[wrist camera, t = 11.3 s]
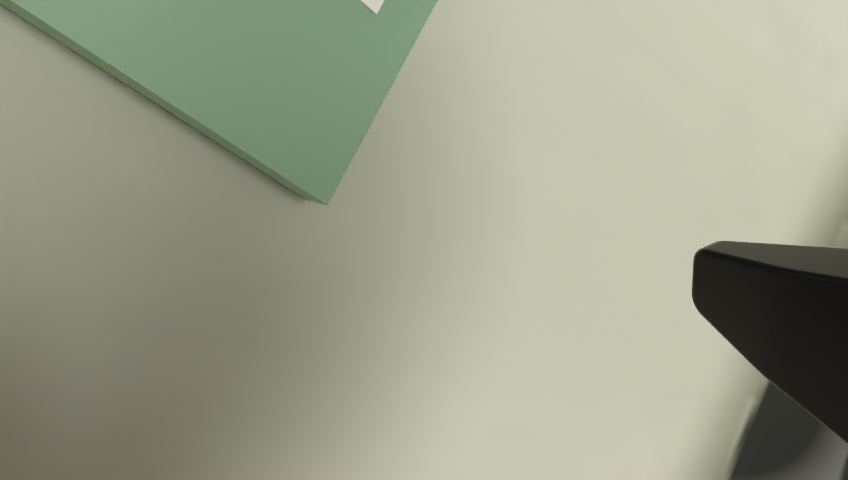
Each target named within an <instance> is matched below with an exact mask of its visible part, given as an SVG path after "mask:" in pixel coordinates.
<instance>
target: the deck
mask: <svg viewBox="0 0 848 480" xmlns="http://www.w3.org/2000/svg"><path fill="white" fill-rule="evenodd" d="M436 2H437V0H0V4H1V5H2V6H4V7H5V8H7V9H8V10H10V11H12V12H13V13H15V14H16V15H18V16H19V17H21V18H23V19H24V20H26V21H27V22H29V23H30V24H32V25H33V26H35V27H37V28H38V29H40V30H41V31H43V32H44V33H46V34H48V35H49V36H51V37H52V38H54V39H55V40H57V41H59V42H60V43H62V44H63V45H65V46H66V47H68V48H69V49H71V50H73V51H74V52H76V53H77V54H79V55H80V56H82V57H84V58H85V59H87V60H88V61H90V62H91V63H93V64H95V65H96V66H98V67H99V68H101V69H102V70H104V71H106V72H107V73H109V74H110V75H112V76H113V77H115V78H116V79H118V80H120V81H121V82H123V83H124V84H126V85H127V86H129V87H131V88H132V89H134V90H135V91H137V92H138V93H140V94H142V95H143V96H145V97H146V98H148V99H149V100H151V101H152V102H154V103H156V104H157V105H159V106H160V107H162V108H163V109H165V110H167V111H168V112H170V113H171V114H173V115H174V116H176V117H178V118H179V119H181V120H182V121H184V122H185V123H187V124H188V125H190V126H192V127H193V128H195V129H196V130H198V131H199V132H201V133H203V134H204V135H206V136H207V137H209V138H210V139H212V140H214V141H215V142H217V143H218V144H220V145H221V146H223V147H224V148H226V149H228V150H229V151H231V152H232V153H234V154H235V155H237V156H239V157H240V158H242V159H243V160H245V161H246V162H248V163H250V164H251V165H253V166H254V167H256V168H257V169H259V170H261V171H262V172H264V173H265V174H267V175H268V176H270V177H271V178H273V179H275V180H276V181H278V182H279V183H281V184H282V185H284V186H286V187H287V188H289V189H290V190H292V191H293V192H295V193H297V194H298V195H300V196H301V197H303V198H304V199H307V200H311V201H315V202H318V203H322V204H325V205H327V204H328V202H329V200H330V199H331V197H332V195H333V193H334V191H335V189H336V187H337V186H338V184H339V182H340V180H341V178H342V176H343V174H344V173H345V171H346V169H347V167H348V165H349V163H350V161H351V160H352V158H353V156H354V154H355V152H356V150H357V148H358V147H359V145H360V143H361V141H362V139H363V137H364V135H365V134H366V132H367V130H368V128H369V126H370V124H371V122H372V121H373V119H374V117H375V115H376V113H377V111H378V109H379V108H380V106H381V104H382V102H383V100H384V98H385V96H386V95H387V93H388V91H389V89H390V87H391V85H392V83H393V82H394V80H395V78H396V76H397V74H398V72H399V70H400V69H401V67H402V65H403V63H404V61H405V59H406V57H407V56H408V54H409V52H410V50H411V48H412V46H413V44H414V43H415V41H416V39H417V37H418V35H419V33H420V31H421V30H422V28H423V26H424V24H425V22H426V20H427V18H428V17H429V15H430V13H431V11H432V9H433V7H434V5H435V4H436Z"/></svg>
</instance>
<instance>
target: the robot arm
mask: <svg viewBox="0 0 848 480" xmlns="http://www.w3.org/2000/svg"><path fill="white" fill-rule="evenodd" d="M692 298H693V302H694V304H695V306H696V308H697V310H698V311H699V312H700V314H701V315H702V316H703V317H704V318H705V319H706V320H707V321H708V322H709V323H710V324H711V325H712V326H713V327H714V328H715V329H716V330H717V331H718V332H719V333H720V334H721V335H722V336H723V337H724V338H726V339H727V340H728V341H729V342H730V343H731V344H732V345H733V346H734V347H735V348H736V349H737V350H738V351H739V352H740V353H741V354H742V355H743V356H744V357H745V358H746V359H747V360H748V361H749V362H750V363H751V364H752V365H753V366H754V367H755V368H756V369H757V370H758V371H759V372H760V373H761V374H762V375H764V376H765V377H766V378H767V379H768V380H769V381H770V382H772V383H773V384H774V385H775V386H776V387H778V388H779V389H780V390H781V391H783V392H784V393H785V394H786V395H788V396H789V397H790V398H791V399H793V400H794V401H795V402H796V403H798V404H799V405H800V406H802V407H803V408H804V409H805V410H806V411H808V412H809V413H810V414H811V415H813V416H814V417H815V418H816V419H818V420H819V421H820V422H821V423H823V424H824V425H825V426H826V427H828V428H829V429H830V430H831V431H833V432H834V433H835V434H836V435H838V436H839V437H840V438H841V439H843V440H844V441H845V442H846V443H848V249H844V248H828V247H812V246H796V245H781V244H765V243H749V242H733V241H718V242H715V243H713V244H711V245H708V246H706V247H704V248H701V249H699V250H698V251H697V252H696V254H695V256H694V261H693V280H692Z"/></svg>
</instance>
